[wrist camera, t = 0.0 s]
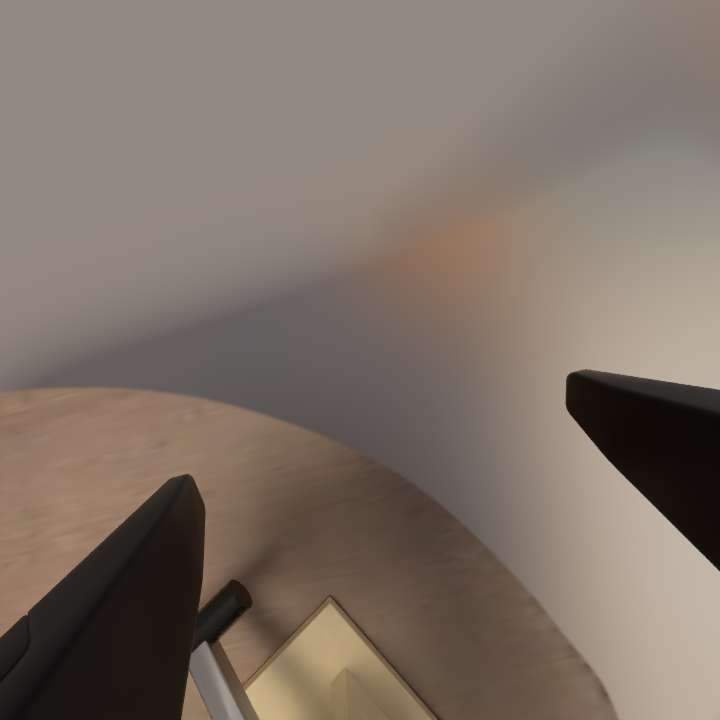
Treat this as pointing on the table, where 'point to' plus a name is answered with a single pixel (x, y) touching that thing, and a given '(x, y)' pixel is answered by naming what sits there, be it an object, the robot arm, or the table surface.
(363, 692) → the bracket
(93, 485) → the table surface
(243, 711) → the lever
